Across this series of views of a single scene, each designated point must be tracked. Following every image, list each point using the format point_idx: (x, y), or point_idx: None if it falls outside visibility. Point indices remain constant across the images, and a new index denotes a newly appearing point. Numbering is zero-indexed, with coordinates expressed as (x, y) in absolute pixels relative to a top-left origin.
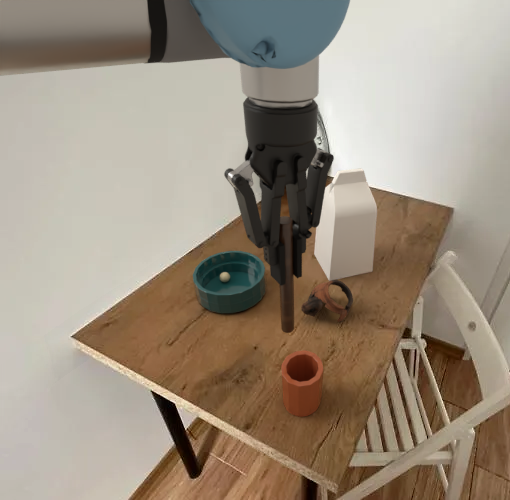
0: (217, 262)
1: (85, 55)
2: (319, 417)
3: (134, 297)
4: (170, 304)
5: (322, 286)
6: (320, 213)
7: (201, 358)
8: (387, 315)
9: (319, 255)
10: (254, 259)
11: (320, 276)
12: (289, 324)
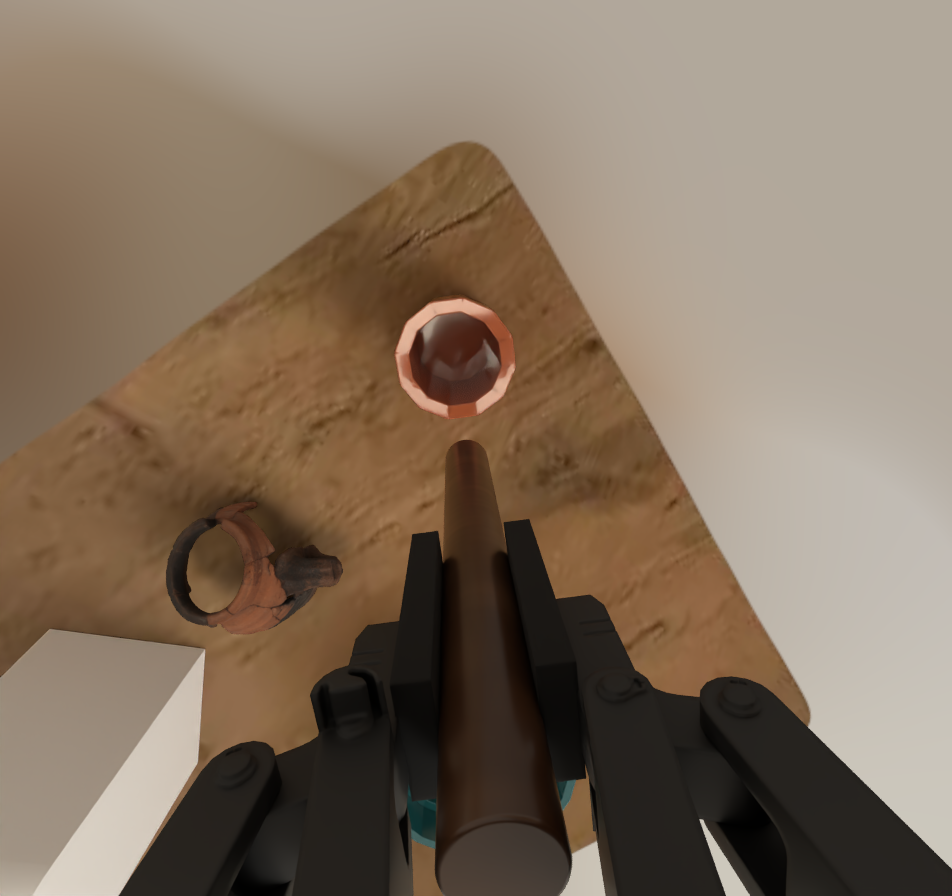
0: None
1: None
2: (440, 277)
3: None
4: None
5: (247, 616)
6: (152, 855)
7: (614, 557)
8: (99, 458)
9: (186, 747)
10: None
11: (222, 674)
12: (471, 450)
